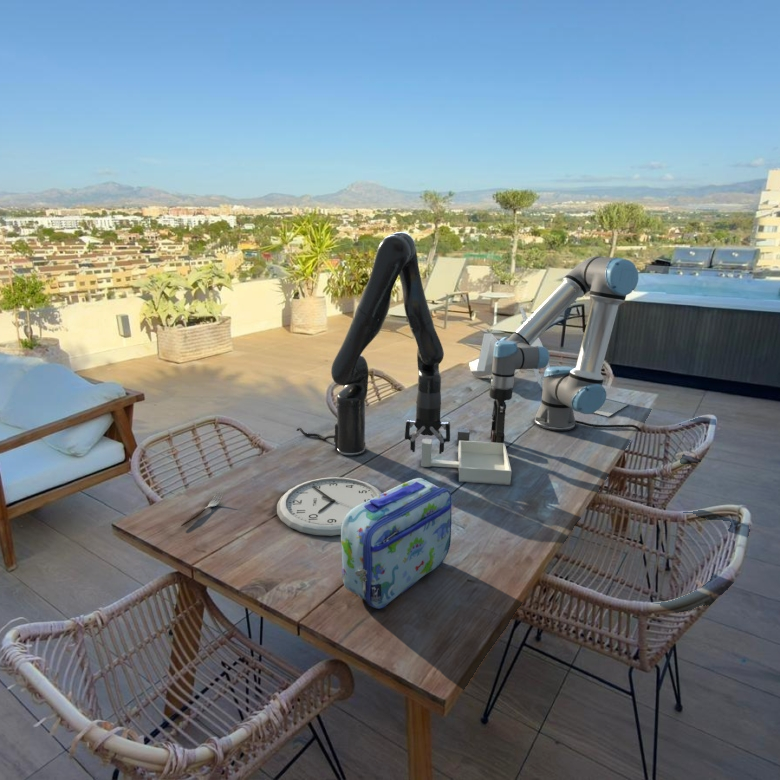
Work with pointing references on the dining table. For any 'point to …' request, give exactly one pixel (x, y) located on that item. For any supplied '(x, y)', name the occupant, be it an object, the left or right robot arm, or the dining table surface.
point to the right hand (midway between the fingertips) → (495, 445)
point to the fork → (211, 504)
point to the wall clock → (323, 504)
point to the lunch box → (395, 540)
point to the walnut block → (494, 435)
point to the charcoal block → (463, 435)
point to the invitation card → (610, 408)
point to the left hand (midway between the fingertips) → (426, 452)
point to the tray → (475, 461)
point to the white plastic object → (486, 355)
